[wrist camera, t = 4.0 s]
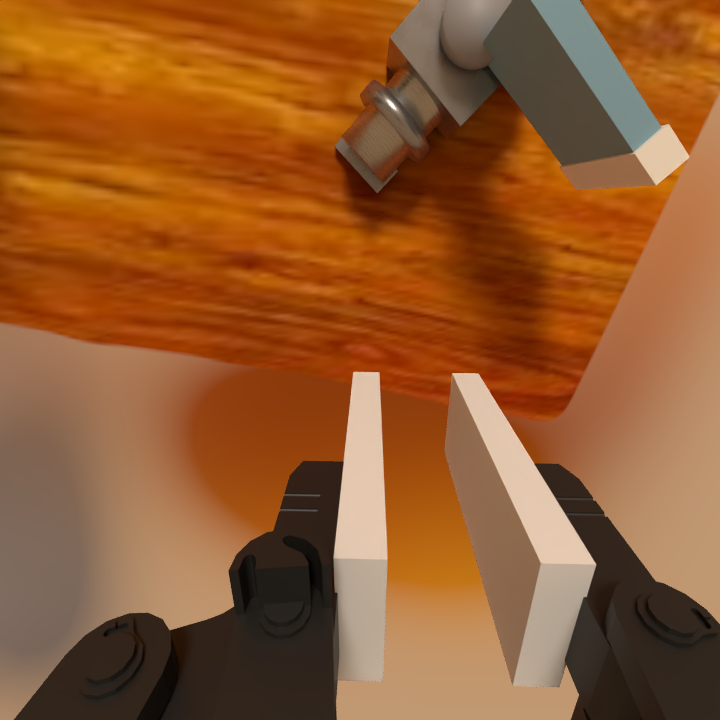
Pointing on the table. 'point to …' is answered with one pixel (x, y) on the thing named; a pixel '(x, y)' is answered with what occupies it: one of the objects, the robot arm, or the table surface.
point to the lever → (565, 88)
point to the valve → (413, 99)
